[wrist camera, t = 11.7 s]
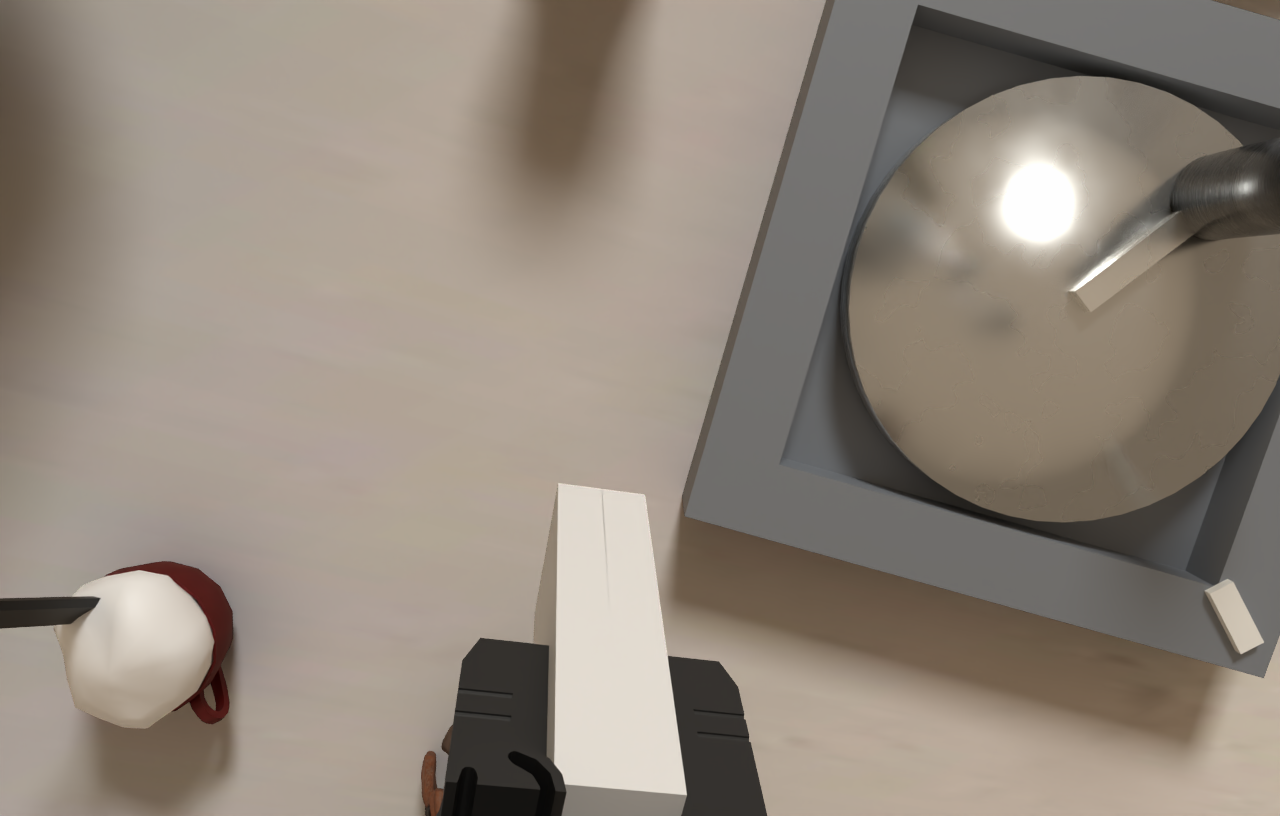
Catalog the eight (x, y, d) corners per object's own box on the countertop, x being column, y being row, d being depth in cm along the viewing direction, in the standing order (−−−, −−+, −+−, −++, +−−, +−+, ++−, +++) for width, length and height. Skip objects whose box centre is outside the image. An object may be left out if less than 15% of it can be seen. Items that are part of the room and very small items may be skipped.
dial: (1004, 592, 41) (1161, 727, 29) (755, 269, 40) (801, 259, 27) (1348, 338, 40) (1678, 361, 27) (1102, -5, 39) (1325, -154, 26)
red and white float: (275, 684, 45) (155, 836, 33) (140, 715, 45) (-28, 879, 33) (213, 484, 44) (65, 570, 32) (74, 517, 44) (-126, 614, 32)
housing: (682, 496, 43) (684, 518, 39) (844, -63, 40) (866, -105, 36) (1209, 643, 44) (1269, 681, 39) (1406, 99, 41) (1494, 77, 36)
